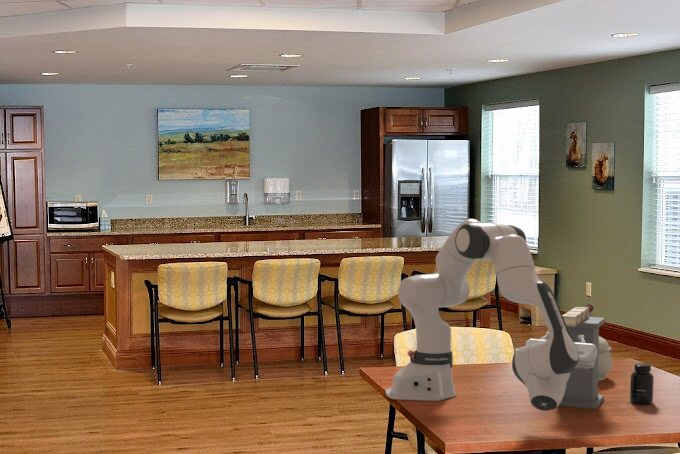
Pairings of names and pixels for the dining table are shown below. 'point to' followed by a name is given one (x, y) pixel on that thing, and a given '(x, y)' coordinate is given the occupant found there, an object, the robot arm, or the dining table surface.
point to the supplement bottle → (641, 385)
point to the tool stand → (582, 381)
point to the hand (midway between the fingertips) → (565, 335)
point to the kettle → (602, 354)
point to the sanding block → (576, 316)
